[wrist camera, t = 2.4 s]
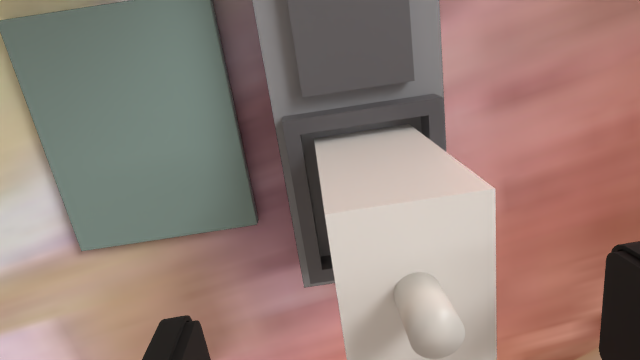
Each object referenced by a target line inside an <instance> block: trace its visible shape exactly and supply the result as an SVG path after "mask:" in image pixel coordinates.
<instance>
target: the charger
mask: <svg viewBox="0 0 640 360" xmlns="http://www.w3.org/2000/svg"><path fill="white" fill-rule="evenodd" d="M314 143H315V150H316V157H317V164H318V171H319V178H320V185H321V192H322V199H323V206H324V213H325V220H326V226H327V233H328V239H329V246H330V253H331V259H332V266H333V272H334V279H335V285H336V292H337V298H338V305H339V311H340V318H341V325H342V331H343V338H344V344H345V351H346V357H347V360H497V333H496V199H495V188H494V187H492V186H491V185H490V184H488V183H487V182H486V181H484V180H483V179H482V178H480V177H479V176H478V175H476V174H475V173H474V172H472V171H471V170H470V169H468V168H467V167H466V166H464V165H463V164H462V163H460V162H459V161H458V160H456V159H455V158H454V157H452V156H451V155H450V154H448V153H447V152H446V151H444V150H443V149H442V148H440V147H439V146H438V145H436V144H435V143H434V142H432V141H431V140H430V139H428V138H427V137H426V136H424V135H423V134H422V133H420V132H419V131H418V130H416V129H415V128H414V127H412V126H411V125H410V124H406V125H400V126H393V127H387V128H380V129H373V130H367V131H360V132H354V133H347V134H340V135H334V136H327V137H321V138H314Z"/></svg>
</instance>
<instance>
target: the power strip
mask: <svg viewBox="0 0 640 360" xmlns="http://www.w3.org/2000/svg"><path fill="white" fill-rule="evenodd" d="M252 2H253V7H254V13H255V18H256V24H257V29H258V35H259V41H260V46H261V52H262V57H263V63H264V68H265V74H266V79H267V85H268V90H269V96H270V101H271V107H272V112H273V118H274V123H275V129H276V134H277V140H278V145H279V151H280V156H281V162H282V167H283V173H284V178H285V184H286V189H287V195H288V201H289V206H290V212H291V217H292V223H293V228H294V234H295V239H296V245H297V250H298V256H299V261H300V267H301V272H302V278H303V283H304V288H305V287H312V286H318V285H325V284H332V283H335V279H334V272H333V266H332V259H331V253H330V246H329V239H328V233H327V226H326V220H325V213H324V206H323V199H322V192H321V185H320V178H319V171H318V164H317V157H316V150H315V143H314V138H321V137H327V136H334V135H340V134H347V133H354V132H360V131H367V130H373V129H380V128H387V127H393V126H400V125H406V124H410V125H411V126H412V127H414V128H415V129H416V130H418V131H419V132H420V133H422V134H423V135H424V136H426V137H427V138H428V139H430V140H431V141H432V142H434V143H435V144H436V145H438V146H439V147H440V148H442V149H443V150H444V151H446V134H445V113H444V91H443V70H442V49H441V27H440V6H439V0H252Z"/></svg>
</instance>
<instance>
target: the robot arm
mask: <svg viewBox="0 0 640 360" xmlns="http://www.w3.org/2000/svg"><path fill="white" fill-rule="evenodd" d="M599 352H600V356H601V358H602V360H640V241H639V242H633V243H626V244H620V245H617V246H615V247H614V248H613V249H612V253H609V254H608V256H607V259H606V269H605V281H604V293H603V306H602V318H601V330H600V343H599ZM142 360H210V356H209V352H208V349H207V345H206V342H205V338H204V335H203V331H202V327H201V324H200V322H199V321H192V319H191V318H190V316H188V315H187V316H180V317H174V318H168V319H163V320H161V322H160V323H159V325H158V327H157V330H156V332H155V334H154V336H153V338H152V340H151V342H150V344H149V346H148V348H147V350H146V352H145V355H144V357H143V359H142Z"/></svg>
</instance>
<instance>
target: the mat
mask: <svg viewBox="0 0 640 360" xmlns="http://www.w3.org/2000/svg"><path fill="white" fill-rule="evenodd" d="M0 33H1V35H2V38H3V41H4V43H5V46H6V49H7V51H8V54H9V57H10V60H11V62H12V65H13V68H14V70H15V73H16V76H17V78H18V81H19V84H20V87H21V89H22V92H23V95H24V97H25V100H26V103H27V105H28V108H29V111H30V113H31V116H32V119H33V122H34V124H35V127H36V130H37V132H38V135H39V138H40V140H41V143H42V146H43V149H44V151H45V154H46V157H47V159H48V162H49V165H50V167H51V170H52V173H53V176H54V178H55V181H56V184H57V186H58V189H59V192H60V194H61V197H62V200H63V202H64V205H65V208H66V211H67V213H68V216H69V219H70V221H71V224H72V227H73V229H74V232H75V235H76V238H77V240H78V243H79V246H80V248H81V251H86V250H92V249H99V248H106V247H112V246H119V245H126V244H132V243H139V242H145V241H152V240H159V239H165V238H172V237H179V236H185V235H192V234H198V233H205V232H212V231H218V230H225V229H231V228H238V227H245V226H251V225H257V223H258V216H257V211H256V207H255V202H254V197H253V192H252V188H251V183H250V178H249V173H248V168H247V164H246V159H245V154H244V149H243V145H242V140H241V135H240V130H239V126H238V121H237V116H236V111H235V107H234V102H233V97H232V92H231V88H230V83H229V78H228V73H227V68H226V64H225V59H224V54H223V49H222V45H221V40H220V35H219V30H218V26H217V21H216V16H215V11H214V7H213V2H212V0H130V1H124V2H117V3H111V4H104V5H98V6H91V7H85V8H78V9H71V10H65V11H58V12H52V13H45V14H39V15H32V16H26V17H19V18H12V19H6V20H0Z"/></svg>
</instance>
